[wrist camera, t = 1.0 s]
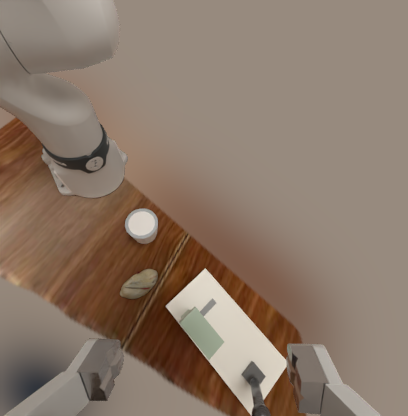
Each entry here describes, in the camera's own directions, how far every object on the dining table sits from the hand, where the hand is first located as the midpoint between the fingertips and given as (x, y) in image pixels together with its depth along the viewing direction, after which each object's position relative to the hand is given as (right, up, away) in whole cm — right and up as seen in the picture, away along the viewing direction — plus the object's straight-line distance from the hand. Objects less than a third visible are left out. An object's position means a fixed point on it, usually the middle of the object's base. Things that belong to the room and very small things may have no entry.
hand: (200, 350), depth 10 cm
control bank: (+4, -20, +35) cm, 40 cm away
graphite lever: (+9, -24, +27) cm, 37 cm away
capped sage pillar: (-2, -16, +31) cm, 35 cm away
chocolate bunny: (-14, -10, +36) cm, 40 cm away
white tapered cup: (-14, +1, +41) cm, 44 cm away
